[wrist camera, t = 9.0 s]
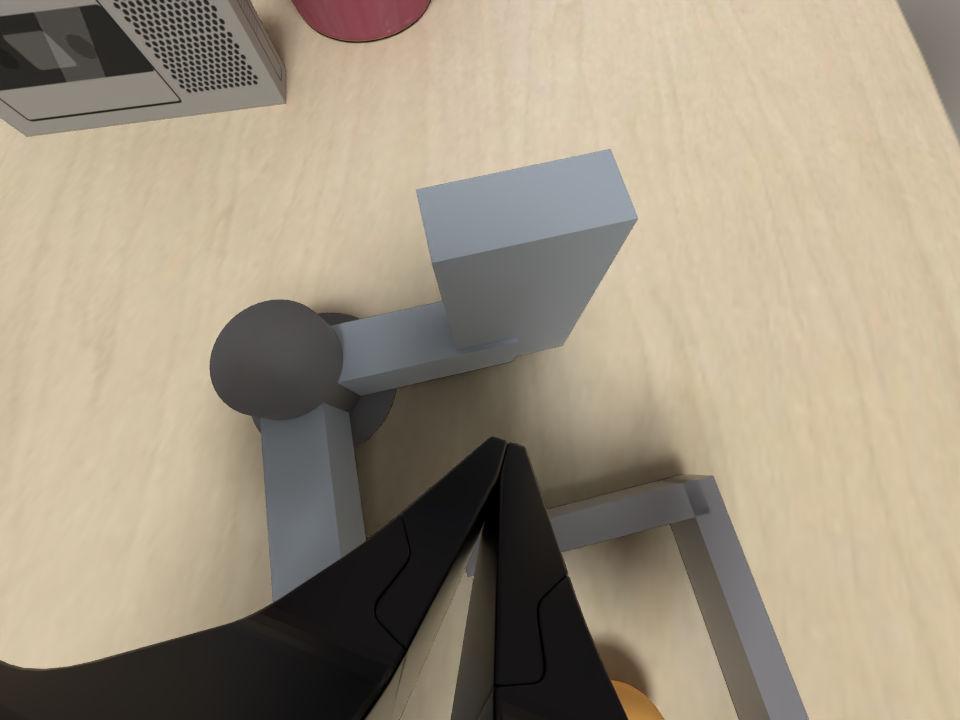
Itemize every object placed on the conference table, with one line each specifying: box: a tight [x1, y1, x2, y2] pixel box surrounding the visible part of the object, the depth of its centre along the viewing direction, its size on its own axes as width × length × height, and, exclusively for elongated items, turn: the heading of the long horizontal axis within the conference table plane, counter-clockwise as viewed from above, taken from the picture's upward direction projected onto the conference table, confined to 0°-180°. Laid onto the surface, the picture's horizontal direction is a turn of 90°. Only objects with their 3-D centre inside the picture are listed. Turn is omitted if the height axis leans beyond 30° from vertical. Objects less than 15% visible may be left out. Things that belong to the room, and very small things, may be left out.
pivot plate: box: [252, 313, 396, 448], centre depth 18 cm, size 7×7×1 cm
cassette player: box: [0, 0, 286, 137], centre depth 19 cm, size 16×3×10 cm, turn 98°
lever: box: [210, 149, 638, 602], centre depth 12 cm, size 17×14×10 cm
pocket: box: [466, 475, 809, 720], centre depth 14 cm, size 10×11×2 cm
